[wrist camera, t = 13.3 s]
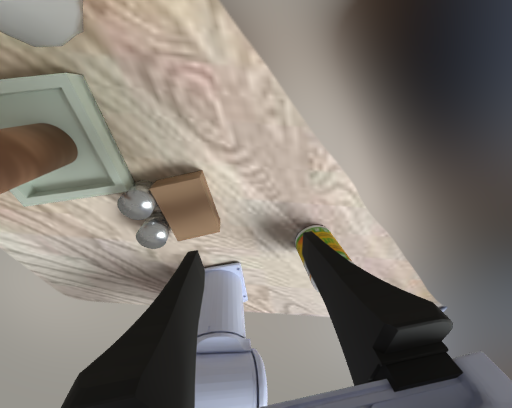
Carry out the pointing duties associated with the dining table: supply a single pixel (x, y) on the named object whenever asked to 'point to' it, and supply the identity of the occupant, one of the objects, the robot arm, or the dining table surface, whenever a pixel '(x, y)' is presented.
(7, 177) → the dowel
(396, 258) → the dining table surface
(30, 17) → the salt shaker
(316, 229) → the supplement bottle
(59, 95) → the tray
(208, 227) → the wooden block
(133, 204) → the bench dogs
